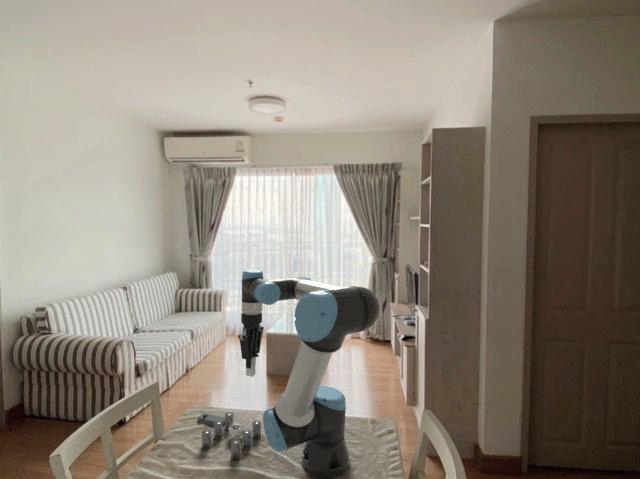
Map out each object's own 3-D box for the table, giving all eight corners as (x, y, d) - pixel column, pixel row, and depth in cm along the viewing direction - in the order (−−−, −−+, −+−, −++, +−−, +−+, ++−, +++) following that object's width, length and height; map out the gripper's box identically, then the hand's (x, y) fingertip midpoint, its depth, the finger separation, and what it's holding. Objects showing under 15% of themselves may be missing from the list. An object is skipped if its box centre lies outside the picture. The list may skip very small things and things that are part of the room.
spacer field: (262, 435, 125) (262, 421, 125) (236, 461, 112) (236, 446, 111) (228, 424, 131) (228, 411, 131) (199, 447, 118) (199, 433, 117)
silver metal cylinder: (245, 436, 125) (245, 425, 124) (237, 444, 120) (237, 433, 120) (234, 432, 127) (234, 421, 126) (225, 440, 122) (225, 429, 122)
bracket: (221, 428, 129) (221, 423, 129) (197, 422, 132) (197, 417, 132) (227, 423, 133) (227, 417, 133) (203, 417, 136) (203, 412, 136)
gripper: (253, 306, 136) (252, 366, 138) (231, 315, 124) (230, 380, 125) (270, 309, 133) (269, 369, 135) (249, 318, 121) (248, 384, 122)
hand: (250, 374), depth 130 cm, fingers closed
